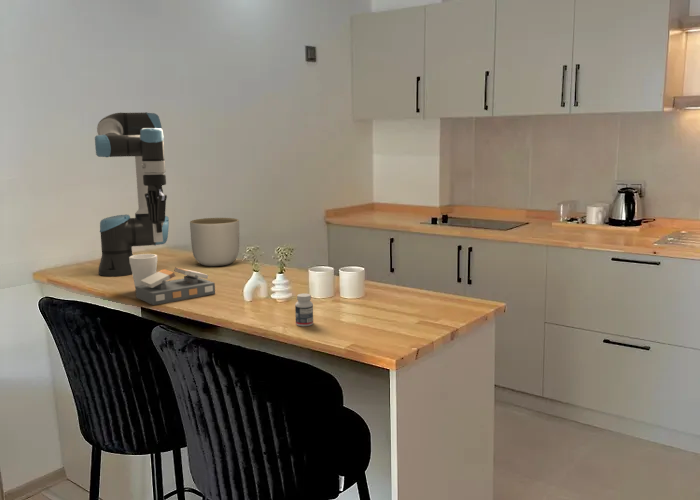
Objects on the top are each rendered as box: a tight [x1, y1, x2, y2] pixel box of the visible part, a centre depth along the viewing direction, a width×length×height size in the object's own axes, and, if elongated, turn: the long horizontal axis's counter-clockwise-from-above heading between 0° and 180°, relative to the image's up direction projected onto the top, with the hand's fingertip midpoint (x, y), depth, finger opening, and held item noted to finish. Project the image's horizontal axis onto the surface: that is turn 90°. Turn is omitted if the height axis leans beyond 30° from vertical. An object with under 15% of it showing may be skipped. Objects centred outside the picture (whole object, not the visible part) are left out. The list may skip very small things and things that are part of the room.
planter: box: [189, 217, 240, 267], centre depth 282 cm, size 21×21×19 cm
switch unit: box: [134, 275, 216, 306], centre depth 228 cm, size 14×23×6 cm, turn 131°
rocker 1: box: [141, 268, 176, 288], centre depth 223 cm, size 8×9×2 cm
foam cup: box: [129, 253, 158, 287], centre depth 233 cm, size 10×9×13 cm
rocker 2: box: [173, 266, 209, 280], centre depth 231 cm, size 8×9×2 cm
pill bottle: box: [294, 293, 314, 327], centre depth 192 cm, size 5×5×9 cm
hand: (158, 241), depth 227 cm, fingers closed
